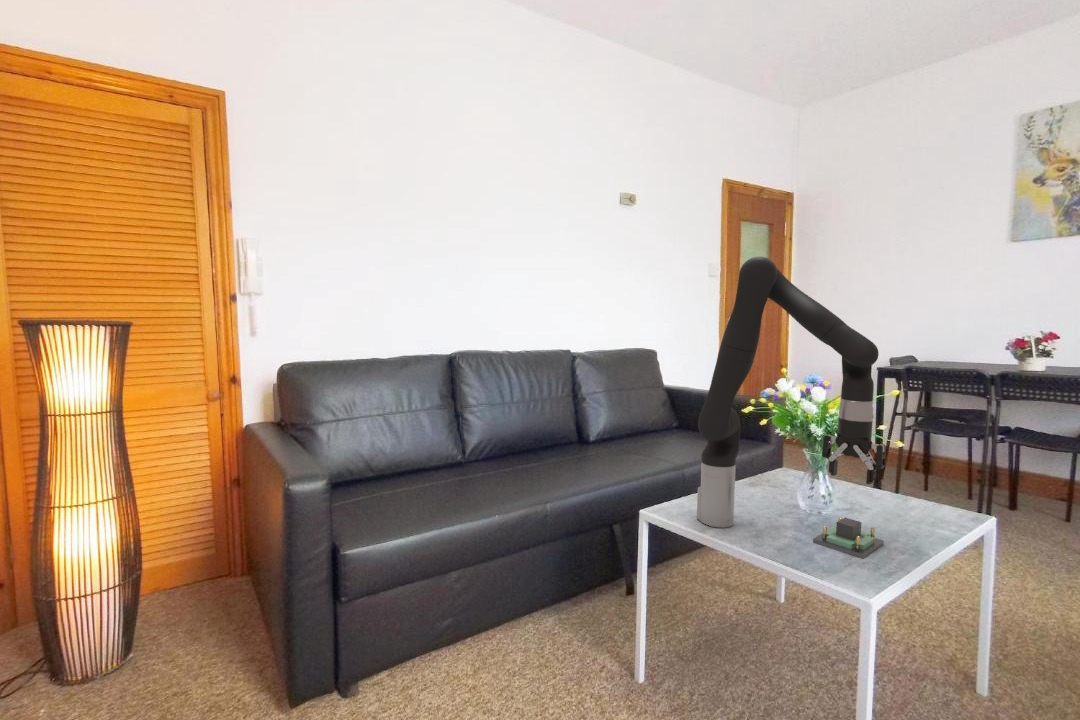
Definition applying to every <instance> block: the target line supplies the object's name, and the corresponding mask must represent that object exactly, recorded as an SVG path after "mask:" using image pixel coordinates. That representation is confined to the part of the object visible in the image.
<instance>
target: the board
mask: <svg viewBox="0 0 1080 720" xmlns="http://www.w3.org/2000/svg"><path fill="white" fill-rule="evenodd" d="M821 534H822V537H823V531H822V533H821ZM870 534H871V532H865V531H862V521H859V520H855V519H851V518H848V517H844V518H842V519H841V520H840V521H838V520H837V521H836V525H834V526H832V527H829V528H827V540H826V541H827V542H830V543H833V544H836V545H839V546H842V547H846V548H849V549H853V548H854V547H856V537H857V536H860V549H862V550H864V549H866V548H867V547H869V546H870V545H872V544H873V543H875V538H876V537H874V538H873V537H870Z"/></svg>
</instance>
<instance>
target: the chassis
mask: <svg viewBox="0 0 1080 720" xmlns="http://www.w3.org/2000/svg"><path fill="white" fill-rule="evenodd" d="M841 519H843V518H841V517H839V518H838V519H837V522H838V521H840V520H841ZM875 528H876V527H874V526H871V527H870V537H873V538H875V543H873V544H872V545H870V546H869V547H867V548H866V549H864V550H862V549H860V536H857V537H856V547H854V548H853V549H849V548H846V547H842V546H839V545H836V544H833V543H830V542H827V541H826V540H827V530H828V527H827V526H826V525H823V527H822V532H823V537H822V533H821V534H819V535H817V536H816V537H813V539H812V543H814V544H817V545H820V546H823V547H826V548H829V549H833V550H835V551H839V552H842V553H844V554H848V555H851V556H855V557H857V558H859V559H865V558H866V557H868V556H869V555H870V554H872V553H874V552H875V551H876V550H877V549H879V548H881V547H882V546H884V543H885V541H884V540H883V539H879V538H876V537H875V535H876V534H875V532H876V529H875Z"/></svg>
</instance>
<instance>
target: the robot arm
mask: <svg viewBox="0 0 1080 720" xmlns="http://www.w3.org/2000/svg"><path fill="white" fill-rule="evenodd" d="M768 299H769V300H771V301H773V302H774V303H775V304H776V305H778V306H779V307H781V309H783V310H784V311H785V312H786V313H788V314H789V316H791V317H792V318H793V320H795V321H796V322H797V323H798V324H799V325H800V326H801V327H803V328H804V329H805V330H806V331H807V332H808V333H810V334H811V335H812V336H814V337H815V338H816V339H818V340H819V341H821V342H822V343H824V344H825V345H827V346H828V347H830V348H832V349H833V350H834V351H836V353H838V355H840V356H841V371H842V373H841V374H842V383H841V393H840V395H841V396H840V401H839V406H838V407H839V408H838V421H837V436H835V435H833V434H827V435H824V437H823V442H822V443H823V444H822V452H821V456H822V458H825V459H827V460H828V461H829V464H828V472H829V473H830V475H831V476H833V477H836V476H837V475H838V467H839V460H838V459H839V458H840V457H841V456H842V455H844V456H847V457H853V458H854V459H855V458H856V459H859V458H860V459H861V461H862V462H863V463H865V466H867V468H868V469H867V470H866V478H865V480H866V481H865V483H866V484H867V485H872V484H873V483H874V482H875V481H876V477H877V475H876V474H877V470H882V469H884V468H885V467H886V459H887V458H886V454H887V453H886V452H887V451H886V448H887V447H886V445H885V444H884V443H880V444H878V443H873V442H872V436H873V435H872V433H873V422H874V421H873V420H874V380H873V377H872V368H873V365H874V364H875V363H876V362H877V361H878V360H879V349H878V346H877V345H876V344H875V343H874V342H873V341H872V340H870V339H869V338H868V337H866V336H864V335H863V334H862V333H860V332H859V331H856V330H855V329H854V328H852V327H850V326H849V325H848V324H846V322H845V321H843V319H841V318H840V317H838V315H836V314H835V313H833V312H832V311H831V310H829V309H828V308H827V307H826V306H824V305H823V304H821V303H820V302H818V301H816V300H815V299H814V298H813V297H811V296H810V295H808V294H807V293H805V292H804V291H802V290H801V289H799V288H798V287H797V286H796V285H795V284H793V283H792V282H791V281H790V280H789V279H788V278H786V277H785V275H784V274H783V273H782V272H781V271H780V270H779V269H778V268H777V266H776V264H775V263H774V261H772V260H771V259H770V258H768V257H766V256H755V257H751V258H749V259H747V260H746V261H745V262H743V264H742V265H741V267H740V269H739V273H738V281H737V289H736V295H735V300H734V306H733V309H732V310H731V311H732V312H731V314H730V317H729V319H728V322H727V324H726V327H725V330H724V332H723V336H722V338H721V343H720V346H719V350H718V352H717V357H716V361H715V362H716V363H715V366H714V369H713V373H712V377H711V381H710V385H709V389H708V392H707V394H706V398H705V401H704V403H703V406H702V408H701V411H700V413H699V415H698V421H697V428H698V431H699V434H700V436H701V437H702V438H703V439H704V440H705V441H707V443H706V445H705V448H704V449H703V451H702V452H701V467H700V469H701V470H700V486H698V487H697V493H696V495H697V497H696V498H697V500H696V501H697V503H696V520H698V519H699V520H698V521H700V523H702V524H703V523H704V524H703V525H705V524H706V526H708V525H709V526H710V527H712V528H729V527H732V526H733V525H734V519H735V515H734V514H735V497H736V496H735V495H736V494H735V490H736V467H737V466H736V465H737V464H736V461H737V457H738V454H739V451H740V439H741V420H740V416H739V414H738V413H737V411H736V410H735V409H734V408H733V404H734V400H735V397H736V396H737V394H738V392H739V389H741V387H742V385H743V383H744V382H745V380H746V379H747V377H748V375H749V373H750V371H751V369H752V367H753V363H754V361H755V357H756V354H757V350H758V345H759V341H760V335H761V327H762V318H763V313H764V310H765V307H766V304H767V301H768ZM834 443H836V444H837V447H838V448H837V449H836V450H835V451H834V452H833V453H832V446H833V444H834ZM872 449H873V451H874V453H875V454H876V455H875V457H876V461H875V460H874V457H873V456H872V454H871V453H870V451H871V450H872Z"/></svg>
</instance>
